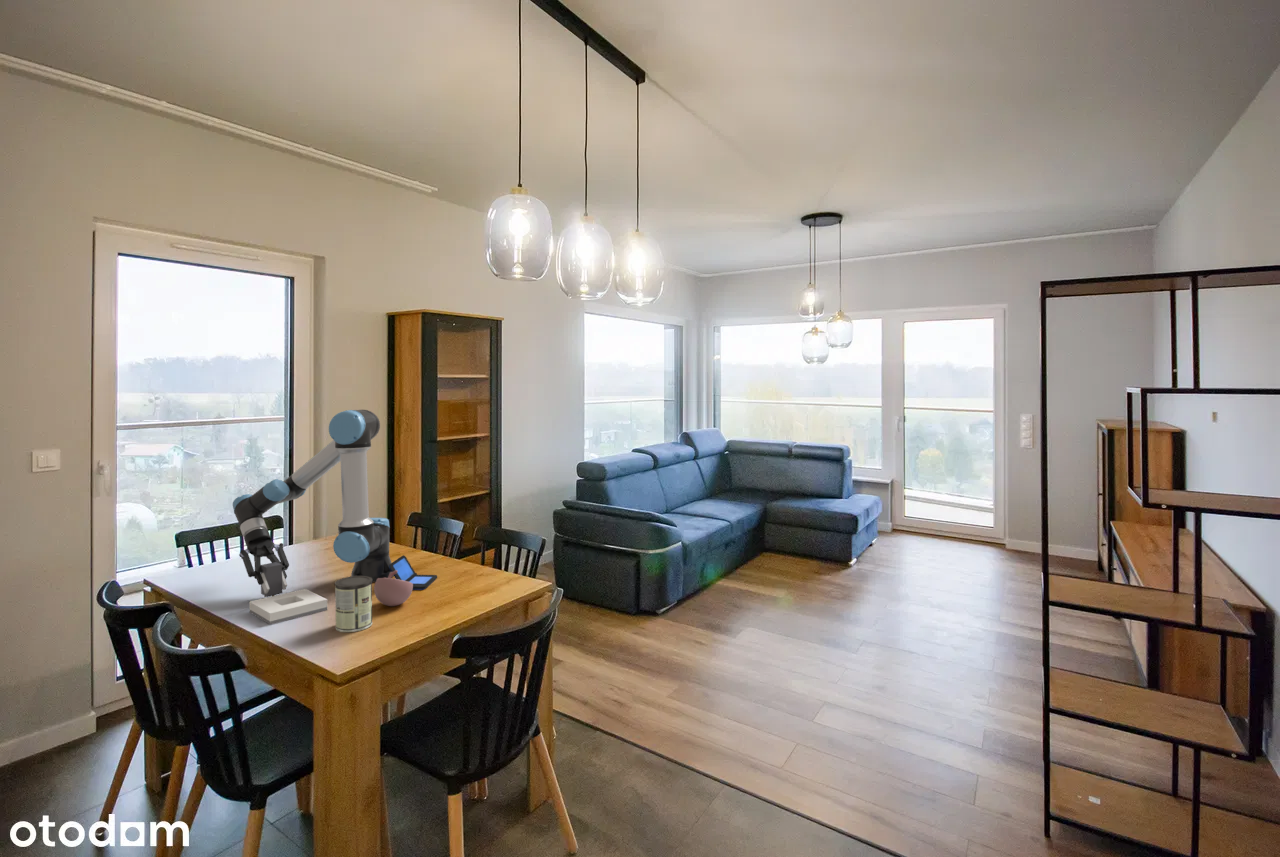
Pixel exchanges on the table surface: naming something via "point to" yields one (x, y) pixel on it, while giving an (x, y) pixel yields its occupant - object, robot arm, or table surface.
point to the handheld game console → (410, 574)
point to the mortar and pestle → (392, 590)
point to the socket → (287, 606)
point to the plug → (272, 578)
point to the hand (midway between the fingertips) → (276, 589)
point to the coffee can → (353, 603)
